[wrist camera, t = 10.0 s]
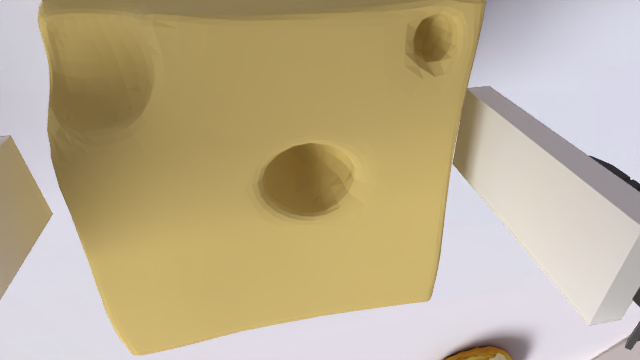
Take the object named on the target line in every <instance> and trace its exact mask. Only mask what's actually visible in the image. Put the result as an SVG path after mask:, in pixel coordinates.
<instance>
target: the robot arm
mask: <svg viewBox="0 0 640 360" xmlns="http://www.w3.org/2000/svg"><path fill="white" fill-rule="evenodd" d="M453 165H454V166H455V167H456V168H457V169H458V171H459V172H460V173H461V174H462V175H463V177H464V178H465V179H466V180H467V181H468V183H469V184H470V185H471V186H472V187H473V189H474V190H475V191H476V192H477V193H478V194H479V196H480V197H481V198H482V199H483V200H484V202H485V203H486V204H487V205H488V206H489V208H490V209H491V210H492V211H493V212H494V214H495V215H496V216H497V217H498V218H499V220H500V221H501V222H502V223H503V224H504V225H505V227H506V228H507V229H508V230H509V231H510V233H511V234H512V235H513V236H514V237H515V239H516V240H517V241H518V242H519V243H520V245H521V246H522V247H523V248H524V249H525V250H526V252H527V253H528V254H529V255H530V256H531V258H532V259H533V260H534V261H535V262H536V264H537V265H538V266H539V267H540V268H541V270H542V271H543V272H544V273H545V274H546V276H547V277H548V278H549V279H550V280H551V281H552V283H553V284H554V285H555V286H556V287H557V289H558V290H559V291H560V292H561V293H562V295H563V296H564V297H565V298H566V299H567V301H568V302H569V303H570V304H571V305H572V307H573V308H574V309H575V310H576V311H577V312H578V314H579V315H580V316H581V317H582V318H583V320H584V321H585V322H586V323H587V324H588V326H590V325H595V324H601V323H606V322H612V321H617V320H621V319H622V317H623V316H624V314H625V312H626V311H627V309H628V308H629V306H630V304H631V303H632V301H634V302H635V303H636V304H637V305H638V306H639V307H640V184H639V183H638V182H636V181H635V180H630V177H629V176H628V175H626V174H625V173H623V172H622V171H620V170H619V169H617V168H616V167H615V166H613V165H611V164H609V163H606V162H604V161H602V160H599V159H597V158H595V157H592V156H590V155H589V156H588V155H586V154H585V153H584V152H582V151H581V150H579V149H578V148H577V147H575V146H574V145H572V144H571V143H569V142H568V141H567V140H565V139H564V138H562V137H561V136H560V135H558V134H557V133H555V132H554V131H552V130H551V129H550V128H548V127H547V126H545V125H544V124H543V123H541V122H540V121H538V120H537V119H535V118H534V117H533V116H531V115H530V114H528V113H527V112H526V111H524V110H523V109H521V108H520V107H518V106H517V105H516V104H514V103H513V102H511V101H510V100H509V99H507V98H506V97H504V96H503V95H501V94H500V93H499V92H497V91H496V90H494V89H493V88H492V87H490V86H483V87H473V88H467V91H466V95H465V100H464V104H463V108H462V114H461V119H460V125H459V130H458V136H457V142H456V147H455V153H454V159H453ZM52 215H53V213H52V212H51V210H50V208H49V206H48V204H47V202H46V200H45V198H44V197H43V195H42V193H41V191H40V189H39V187H38V185H37V184H36V182H35V180H34V178H33V176H32V174H31V172H30V171H29V169H28V167H27V165H26V163H25V161H24V159H23V158H22V156H21V154H20V152H19V150H18V148H17V146H16V145H15V143H14V141H13V139H12V137H11V135H10V136H1V137H0V299H1V298H2V296H3V295H4V293H5V291H6V290H7V288H8V286H9V285H10V283H11V282H12V280H13V278H14V277H15V275H16V273H17V272H18V270H19V268H20V267H21V265H22V264H23V262H24V260H25V259H26V257H27V255H28V254H29V252H30V251H31V249H32V247H33V246H34V244H35V242H36V241H37V239H38V237H39V236H40V234H41V233H42V231H43V229H44V228H45V226H46V224H47V223H48V221H49V220H50V218H51V216H52ZM639 340H640V322H639V323H638V325H637V326H636V328H635V329H634V331H633V332H632V334H631V335H630V337H629V338H628V340H627V342H626V345H625V348H627V349H630V350H631V349H632V348H633V346H634V345H635V343H636V342H637V341H639Z"/></svg>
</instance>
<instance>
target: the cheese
mask: <svg viewBox="0 0 640 360" xmlns="http://www.w3.org/2000/svg"><path fill="white" fill-rule="evenodd" d="M485 4H486V0H42V2H41V4H40V6H39V13H38V24H39V28H40V32H41V35H42V39H43V42H44V46H45V50H46V54H47V58H48V64H49V71H50V96H49V109H48V128H47V131H48V137H49V142H50V148H51V159H52V163H53V166H54V170H55V174H56V177H57V181H58V184H59V187H60V190H61V192H62V195H63V197H64V199H65V202H66V204H67V206H68V209H69V211H70V214H71V216H72V219H73V222H74V224H75V227H76V230H77V232H78V235H79V238H80V241H81V243H82V246H83V249H84V251H85V254H86V257H87V259H88V262H89V265H90V267H91V270H92V273H93V276H94V279H95V282H96V285H97V288H98V291H99V293H100V296H101V298H102V301H103V304H104V307H105V310H106V313H107V315H108V317H109V319H110V321H111V323H112V325H113V328H114V329H115V331H116V333H117V334H118V336H119V338H120V339H121V340H122V342H123V343H124V344H125V345H126V347H127V348H128V350H129V351H130V352H131V353H132V354H134V355H145V354H151V353H156V352H160V351H165V350H169V349H174V348H178V347H182V346H186V345H190V344H194V343H198V342H202V341H205V340H209V339H213V338H217V337H220V336H224V335H228V334H232V333H236V332H240V331H245V330H250V329H255V328H260V327H265V326H270V325H276V324H281V323H286V322H292V321H297V320H302V319H308V318H313V317H318V316H324V315H331V314H337V313H344V312H351V311H358V310H365V309H372V308H379V307H386V306H394V305H402V304H409V303H418V302H427V301H428V300H430V298H431V296H432V292H433V288H434V283H435V280H436V276H437V270H438V265H439V259H440V252H441V244H442V235H443V227H444V218H445V209H446V201H447V193H448V186H449V178H450V172H451V165H452V159H453V153H454V147H455V142H456V137H457V132H458V127H459V121H460V117H461V113H462V108H463V104H464V100H465V95H466V91H467V86H468V82H469V78H470V74H471V70H472V66H473V61H474V57H475V53H476V49H477V44H478V40H479V35H480V31H481V26H482V22H483V16H484V10H485Z"/></svg>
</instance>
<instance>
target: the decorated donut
mask: <svg viewBox="0 0 640 360" xmlns="http://www.w3.org/2000/svg"><path fill="white" fill-rule="evenodd" d="M445 360H513V359H512V358H511V356H510V355H509V354H508V353H507V352H506V351H505V350H501V349H499V348H496V347H492V346H487V347H482V348H478V347H475V348H472V349H471V350H468V351H462V352H459V353H458V354H456V355H454V356H451V357H449V358H446V359H445Z"/></svg>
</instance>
